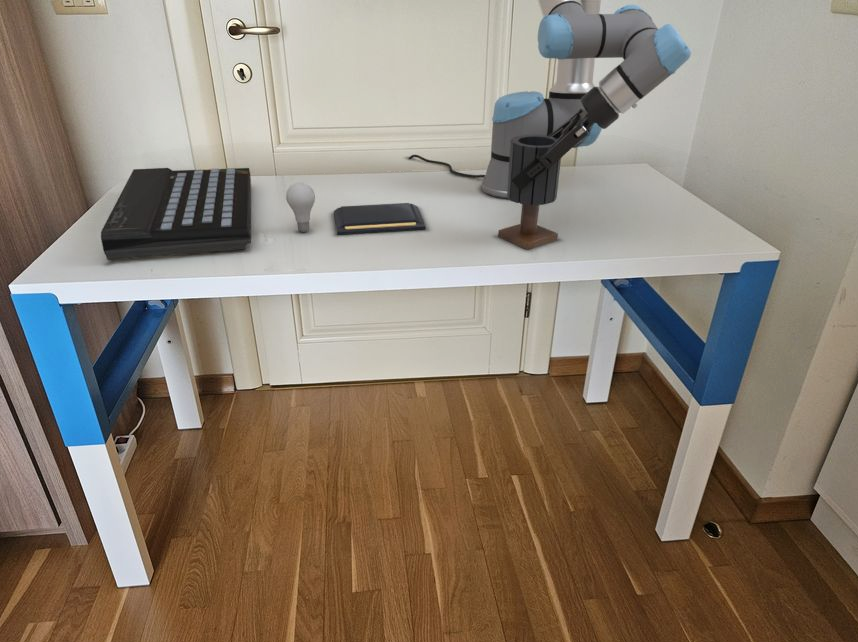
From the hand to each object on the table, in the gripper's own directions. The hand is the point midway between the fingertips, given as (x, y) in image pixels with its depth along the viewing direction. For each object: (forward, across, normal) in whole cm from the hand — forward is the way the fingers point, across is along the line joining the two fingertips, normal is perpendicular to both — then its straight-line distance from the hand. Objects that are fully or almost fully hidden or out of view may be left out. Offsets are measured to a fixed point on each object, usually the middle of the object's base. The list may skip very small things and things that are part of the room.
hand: (518, 176), depth 134 cm
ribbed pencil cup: (+1, 0, -5) cm, 5 cm away
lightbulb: (+41, -8, +23) cm, 48 cm away
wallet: (+32, +3, +13) cm, 34 cm away
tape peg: (+7, 0, -11) cm, 14 cm away
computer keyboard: (+61, -7, +43) cm, 75 cm away
